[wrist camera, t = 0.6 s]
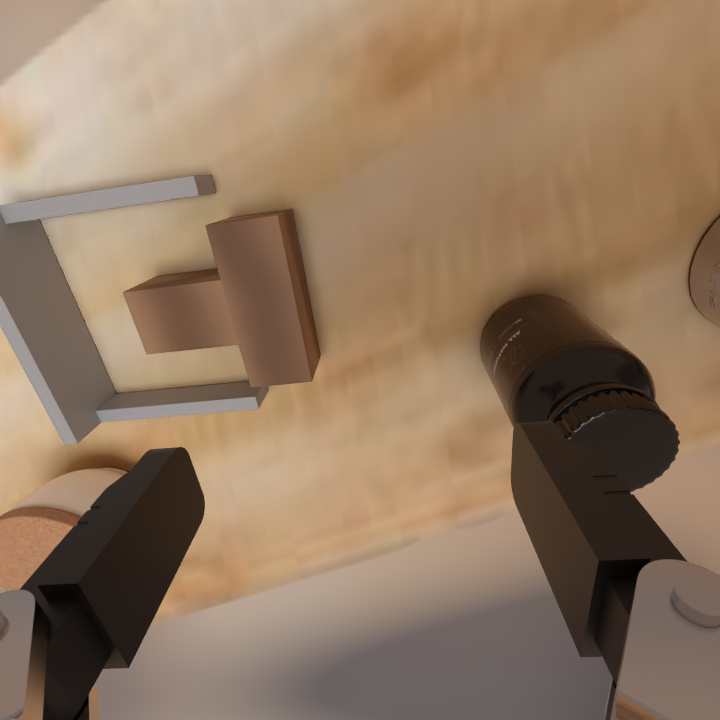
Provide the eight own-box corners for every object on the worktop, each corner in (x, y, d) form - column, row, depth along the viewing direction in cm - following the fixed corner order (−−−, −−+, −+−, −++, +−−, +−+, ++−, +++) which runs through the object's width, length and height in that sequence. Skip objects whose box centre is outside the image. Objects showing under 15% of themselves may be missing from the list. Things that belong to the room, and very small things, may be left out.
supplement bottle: (471, 306, 27) (529, 399, 16) (579, 281, 26) (720, 363, 15) (484, 393, 30) (542, 523, 19) (582, 374, 28) (704, 501, 18)
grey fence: (211, 175, 24) (171, 176, 20) (268, 391, 30) (247, 429, 26) (17, 204, 26) (-62, 212, 21) (109, 405, 32) (64, 444, 27)
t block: (292, 208, 25) (277, 215, 21) (320, 355, 29) (311, 381, 25) (141, 230, 26) (102, 239, 22) (189, 368, 30) (162, 395, 26)
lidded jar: (158, 443, 33) (81, 536, 25) (191, 536, 38) (135, 642, 29) (37, 446, 34) (-77, 538, 26) (83, 537, 39) (-1, 640, 30)
